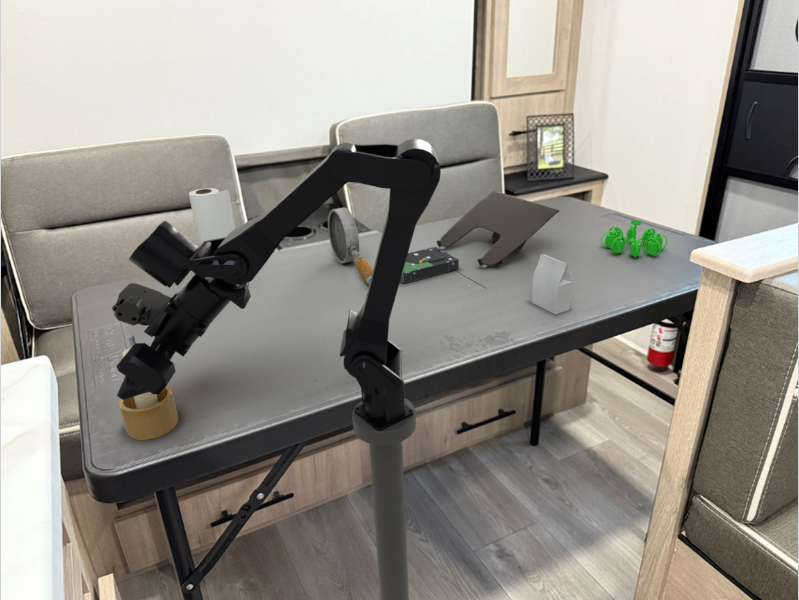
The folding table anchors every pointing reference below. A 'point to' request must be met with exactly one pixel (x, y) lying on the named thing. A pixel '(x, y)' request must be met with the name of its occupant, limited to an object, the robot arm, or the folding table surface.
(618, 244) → the chandelier
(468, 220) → the laptop tray
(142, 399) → the kitchen roll stand
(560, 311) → the white gabled box
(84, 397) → the folding table surface
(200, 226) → the paper towel roll
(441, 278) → the folding table surface
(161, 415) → the holder
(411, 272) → the disk drive
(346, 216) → the magnifying glass
